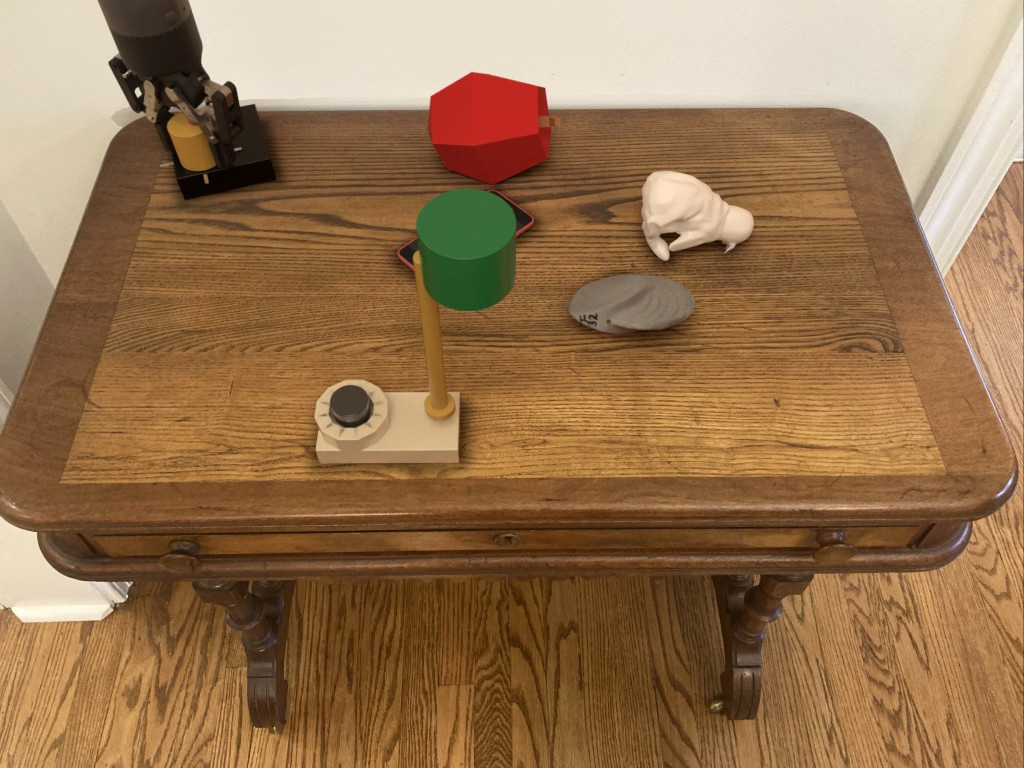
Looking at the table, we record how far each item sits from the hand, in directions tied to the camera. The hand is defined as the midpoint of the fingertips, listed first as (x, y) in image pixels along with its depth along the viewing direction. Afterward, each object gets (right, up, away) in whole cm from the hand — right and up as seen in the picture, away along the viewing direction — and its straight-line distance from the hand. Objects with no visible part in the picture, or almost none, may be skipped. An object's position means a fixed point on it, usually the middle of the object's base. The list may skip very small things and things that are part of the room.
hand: (200, 155), depth 92 cm
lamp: (+30, -27, -19) cm, 44 cm away
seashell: (+45, -18, -8) cm, 49 cm away
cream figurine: (+52, -10, -2) cm, 53 cm away
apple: (+31, +1, +5) cm, 31 cm away
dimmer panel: (+1, 0, +4) cm, 4 cm away
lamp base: (+23, -29, -16) cm, 40 cm away
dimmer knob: (0, 0, 0) cm, 0 cm away
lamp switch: (+20, -27, -19) cm, 38 cm away
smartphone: (+29, -10, -2) cm, 30 cm away
